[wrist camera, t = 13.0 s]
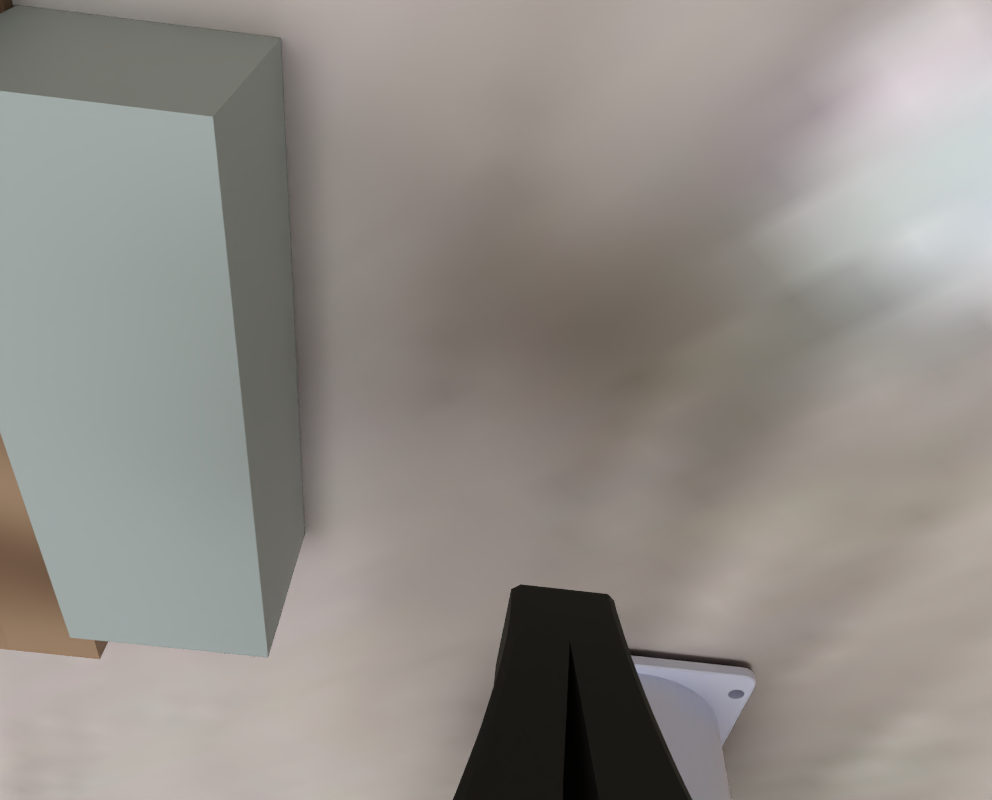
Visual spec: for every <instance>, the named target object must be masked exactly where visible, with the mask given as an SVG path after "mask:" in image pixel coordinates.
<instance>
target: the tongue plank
mask: <svg viewBox="0 0 992 800" xmlns="http://www.w3.org/2000/svg"><path fill="white" fill-rule="evenodd" d="M0 433H1V436H2V439H3V442H4V445H5V448H6V451H7V454H8V457H9V460H10V463H11V466H12V469H13V472H14V474H15V477H16V480H17V483H18V486H19V489H20V492H21V495H22V498H23V501H24V504H25V507H26V510H27V513H28V515H29V518H30V521H31V524H32V527H33V530H34V533H35V536H36V539H37V542H38V545H39V548H40V551H41V554H42V557H43V559H44V562H45V565H46V568H47V571H48V574H49V577H50V580H51V583H52V586H53V589H54V592H55V595H56V598H57V601H58V603H59V606H60V609H61V612H62V615H63V618H64V621H65V624H66V627H67V630H68V633H69V636H70V638H79V639H89V640H99V641H109V642H118V643H128V644H138V645H148V646H158V647H168V648H178V649H188V650H198V651H208V652H218V653H228V654H238V655H248V656H258V657H268V656H269V653H270V649H271V646H272V643H273V639H274V636H275V632H276V629H277V626H278V622H279V619H280V616H281V612H282V609H283V605H284V602H285V599H286V595H287V592H288V589H289V585H290V582H291V579H292V575H293V572H294V568H295V565H296V562H297V558H298V555H299V552H300V548H301V545H302V541H303V538H304V535H305V527H304V506H303V485H302V465H301V444H300V423H299V402H298V382H297V361H296V340H295V320H294V299H293V278H292V257H291V237H290V216H289V195H288V175H287V154H286V133H285V112H284V92H283V71H282V50H281V38H277V37H269V36H261V35H253V34H245V33H237V32H229V31H221V30H213V29H205V28H197V27H189V26H181V25H173V24H165V23H157V22H149V21H141V20H133V19H125V18H117V17H109V16H101V15H93V14H85V13H77V12H69V11H61V10H53V9H45V8H37V7H29V6H21V5H16V6H14V7H12V8H10V9H8V10H6V11H4V12H2V13H0Z"/></svg>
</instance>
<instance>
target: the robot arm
mask: <svg viewBox="0 0 992 800" xmlns="http://www.w3.org/2000/svg"><path fill="white" fill-rule="evenodd" d="M755 685H756V681H755V676H754V673H753V672H752V671H751V670H749V669H748V668H744V667H736V666H726V665H717V664H708V663H698V662H689V661H680V660H670V659H661V658H652V657H642V656H633V655H631V654H630V651H629V648H628V646H627V643H626V640H625V637H624V634H623V630H622V627H621V624H620V621H619V617H618V614H617V611H616V607H615V603H614V600H613V599H612V598H611V597H610V596H609V595H608V594H601V593H592V592H583V591H574V590H565V589H556V588H547V587H538V586H529V585H519V586H517V587H515V588H513V589H511V594H510V598H509V603H508V608H507V613H506V618H505V623H504V628H503V633H502V638H501V643H500V648H499V653H498V658H497V663H496V670H495V681H494V688H493V691H492V694H491V697H490V700H489V703H488V707H487V710H486V713H485V716H484V719H483V722H482V725H481V728H480V731H479V734H478V737H477V739H476V742H475V745H474V747H473V750H472V752H471V755H470V757H469V760H468V763H467V765H466V768H465V770H464V773H463V776H462V778H461V781H460V783H459V786H458V788H457V791H456V793H455V796H454V798H453V800H731V795H730V789H729V784H728V778H727V773H726V767H725V761H724V756H723V750H722V746H723V744H724V743H725V741H726V739H727V737H728V735H729V733H730V732H731V730H732V728H733V726H734V724H735V722H736V721H737V719H738V717H739V715H740V713H741V711H742V710H743V708H744V706H745V704H746V702H747V700H748V699H749V697H750V695H751V693H752V691H753V689H754V687H755Z"/></svg>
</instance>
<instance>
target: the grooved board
mask: <svg viewBox="0 0 992 800" xmlns="http://www.w3.org/2000/svg"><path fill="white" fill-rule="evenodd" d="M10 8H12V4H11V0H0V13H2V12H4V11H6V10H8V9H10ZM107 643H108V641H99V640H89V639H79V638H70V636H69V633H68V630H67V627H66V624H65V621H64V618H63V615H62V612H61V609H60V606H59V603H58V601H57V598H56V595H55V592H54V589H53V586H52V583H51V580H50V577H49V574H48V571H47V568H46V565H45V562H44V559H43V557H42V554H41V551H40V548H39V545H38V542H37V539H36V536H35V533H34V530H33V527H32V524H31V521H30V518H29V515H28V513H27V510H26V507H25V504H24V501H23V498H22V495H21V492H20V489H19V486H18V483H17V480H16V477H15V474H14V472H13V469H12V466H11V463H10V460H9V457H8V454H7V451H6V448H5V445H4V442H3V439H2V436H1V433H0V649H8V650H18V651H28V652H37V653H47V654H56V655H66V656H75V657H85V658H94V659H100V658H101V655H102V653H103V651H104V649H105V647H106V645H107Z"/></svg>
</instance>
